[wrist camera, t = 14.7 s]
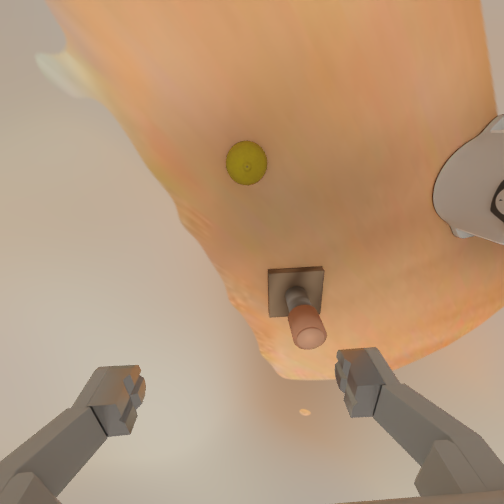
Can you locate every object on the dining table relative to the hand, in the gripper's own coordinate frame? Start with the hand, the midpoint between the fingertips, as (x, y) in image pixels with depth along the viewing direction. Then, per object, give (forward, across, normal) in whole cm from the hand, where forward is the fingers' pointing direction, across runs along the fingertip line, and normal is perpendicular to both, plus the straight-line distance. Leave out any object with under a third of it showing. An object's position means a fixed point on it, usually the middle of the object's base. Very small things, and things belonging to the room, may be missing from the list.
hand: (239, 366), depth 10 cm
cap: (+24, -9, +19) cm, 32 cm away
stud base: (+31, -9, +19) cm, 37 cm away
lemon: (+31, -1, -5) cm, 32 cm away
